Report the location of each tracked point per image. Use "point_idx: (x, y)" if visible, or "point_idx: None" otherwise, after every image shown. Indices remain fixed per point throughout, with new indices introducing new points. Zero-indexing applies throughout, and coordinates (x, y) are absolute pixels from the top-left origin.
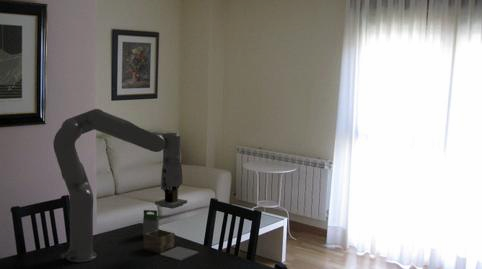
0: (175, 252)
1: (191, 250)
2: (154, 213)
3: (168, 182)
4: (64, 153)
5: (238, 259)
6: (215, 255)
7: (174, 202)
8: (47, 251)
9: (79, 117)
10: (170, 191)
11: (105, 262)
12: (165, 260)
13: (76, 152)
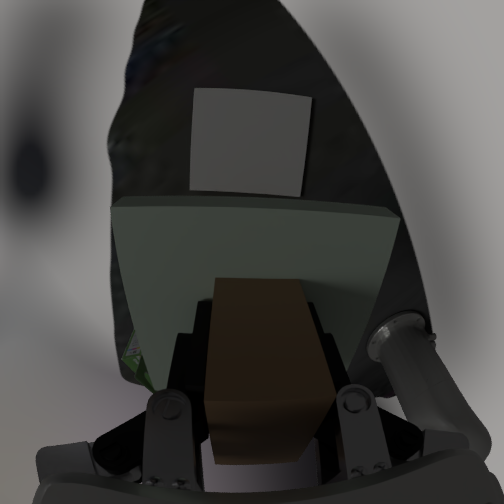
0: (254, 157)
1: (197, 120)
2: (144, 373)
3: (496, 501)
4: None
5: None
6: (184, 30)
7: (291, 271)
8: (377, 388)
9: None
10: (351, 413)
11: (409, 281)
12: (335, 147)
13: None
